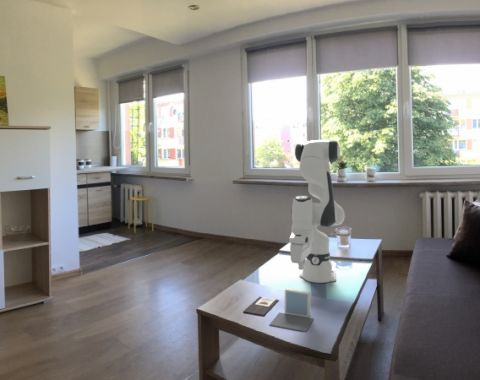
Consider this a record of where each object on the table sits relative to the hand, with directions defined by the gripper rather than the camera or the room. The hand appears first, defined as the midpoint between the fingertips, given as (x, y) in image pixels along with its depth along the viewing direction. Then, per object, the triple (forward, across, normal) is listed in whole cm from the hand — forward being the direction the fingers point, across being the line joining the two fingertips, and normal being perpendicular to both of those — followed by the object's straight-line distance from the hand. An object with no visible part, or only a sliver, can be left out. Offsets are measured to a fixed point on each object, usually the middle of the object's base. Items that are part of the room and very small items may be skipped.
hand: (301, 268), depth 157 cm
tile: (+17, +5, 0) cm, 18 cm away
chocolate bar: (+18, +4, -16) cm, 24 cm away
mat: (+18, +14, 0) cm, 22 cm away
